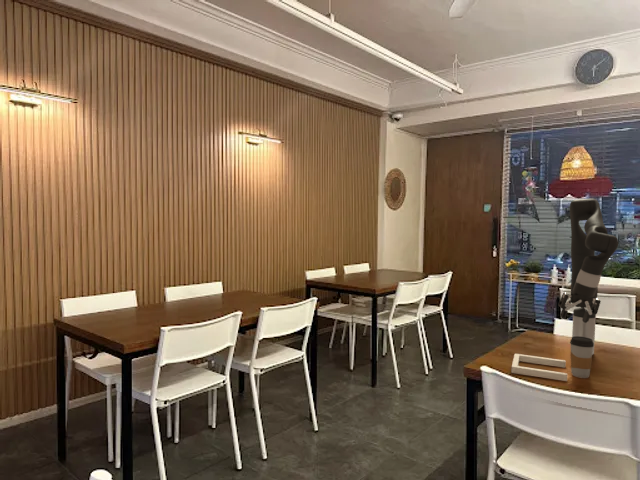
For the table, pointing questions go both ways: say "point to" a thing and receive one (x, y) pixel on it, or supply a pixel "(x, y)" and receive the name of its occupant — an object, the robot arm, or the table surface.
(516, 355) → the frame
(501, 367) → the table surface
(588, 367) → the coffee cup
